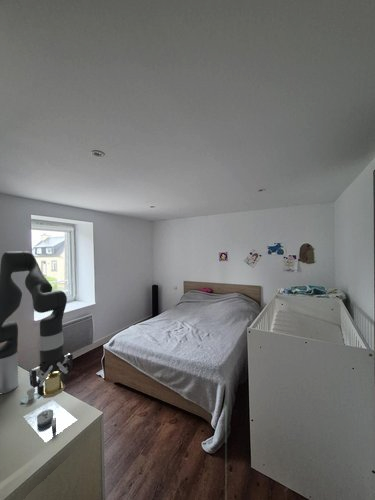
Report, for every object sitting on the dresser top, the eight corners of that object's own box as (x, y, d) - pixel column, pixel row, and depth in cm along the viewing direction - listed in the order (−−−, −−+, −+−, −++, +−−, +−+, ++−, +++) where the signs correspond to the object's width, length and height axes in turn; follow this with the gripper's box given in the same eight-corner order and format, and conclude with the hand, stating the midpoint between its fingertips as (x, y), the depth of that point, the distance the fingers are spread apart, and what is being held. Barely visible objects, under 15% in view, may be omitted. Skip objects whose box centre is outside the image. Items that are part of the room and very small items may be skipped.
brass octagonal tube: (38, 393, 74) (38, 377, 74) (58, 382, 80) (58, 367, 80) (47, 400, 71) (46, 383, 71) (67, 388, 76) (67, 373, 76)
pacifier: (21, 401, 93) (21, 408, 88) (20, 387, 93) (20, 393, 88) (40, 393, 98) (41, 399, 93) (40, 380, 98) (41, 386, 93)
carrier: (22, 419, 82) (22, 407, 82) (52, 402, 91) (52, 390, 91) (45, 445, 70) (45, 431, 70) (77, 422, 80) (76, 409, 80)
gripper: (66, 335, 84) (68, 375, 83) (24, 350, 72) (25, 397, 71) (76, 339, 79) (77, 381, 79) (33, 356, 67) (34, 405, 67)
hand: (53, 388), depth 75 cm, fingers closed on brass octagonal tube, 7 cm apart
